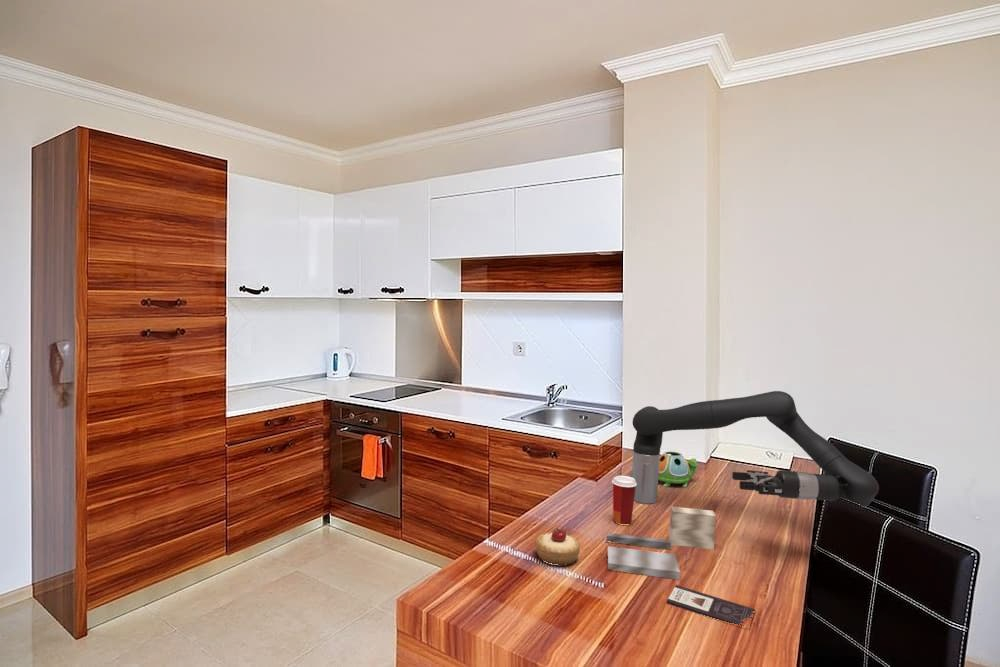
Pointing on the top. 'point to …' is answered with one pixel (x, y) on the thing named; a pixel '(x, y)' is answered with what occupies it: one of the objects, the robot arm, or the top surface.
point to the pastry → (557, 547)
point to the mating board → (642, 557)
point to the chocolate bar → (709, 605)
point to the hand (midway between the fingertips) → (736, 480)
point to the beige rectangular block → (692, 527)
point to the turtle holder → (675, 468)
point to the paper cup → (623, 498)
